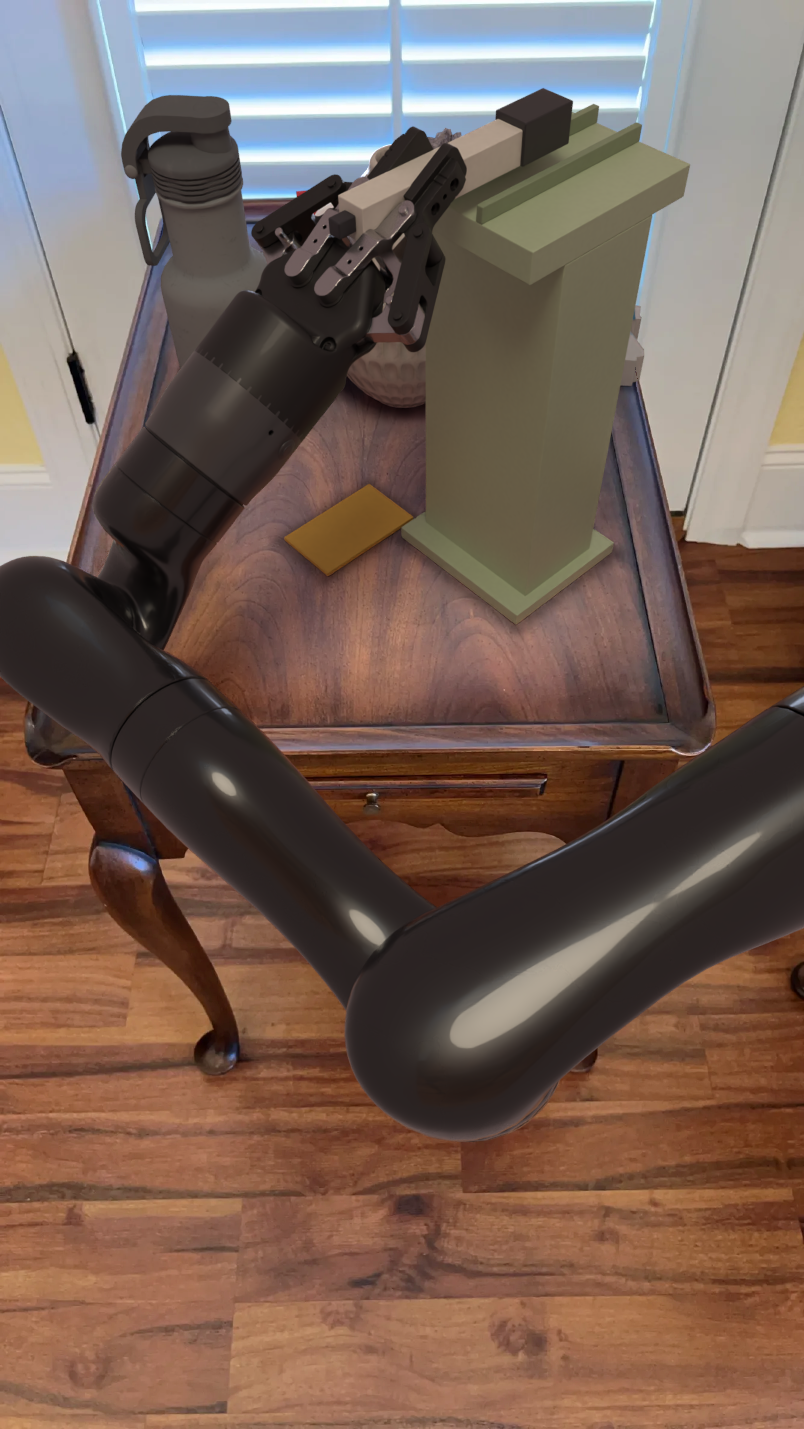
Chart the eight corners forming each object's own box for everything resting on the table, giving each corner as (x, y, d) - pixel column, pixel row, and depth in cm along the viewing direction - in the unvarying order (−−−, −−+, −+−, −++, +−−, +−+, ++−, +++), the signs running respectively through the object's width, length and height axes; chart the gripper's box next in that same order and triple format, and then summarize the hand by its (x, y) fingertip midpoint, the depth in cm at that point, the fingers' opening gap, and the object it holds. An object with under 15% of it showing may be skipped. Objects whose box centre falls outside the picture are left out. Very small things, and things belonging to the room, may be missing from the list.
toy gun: (643, 361, 96) (649, 302, 101) (495, 347, 98) (509, 289, 103) (638, 388, 98) (644, 328, 104) (494, 373, 100) (508, 315, 106)
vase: (318, 345, 103) (294, 117, 85) (471, 331, 104) (480, 103, 86) (330, 447, 94) (307, 216, 76) (498, 430, 95) (515, 198, 77)
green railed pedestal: (507, 631, 81) (547, 241, 54) (392, 542, 87) (377, 152, 60) (619, 546, 86) (707, 152, 59) (504, 468, 92) (536, 78, 65)
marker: (349, 256, 52) (346, 211, 50) (321, 238, 53) (316, 193, 51) (569, 143, 59) (573, 100, 57) (539, 130, 60) (543, 86, 58)
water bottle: (175, 440, 95) (95, 132, 72) (203, 377, 101) (137, 73, 78) (278, 449, 94) (230, 140, 71) (300, 385, 99) (263, 79, 77)
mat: (327, 576, 85) (327, 573, 84) (284, 540, 87) (283, 537, 87) (413, 519, 88) (413, 516, 88) (369, 486, 91) (369, 483, 91)
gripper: (289, 428, 49) (513, 139, 47) (134, 311, 55) (328, 52, 53) (355, 491, 56) (552, 240, 54) (210, 381, 62) (384, 152, 60)
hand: (440, 148), depth 54 cm, fingers closed on marker, 2 cm apart
